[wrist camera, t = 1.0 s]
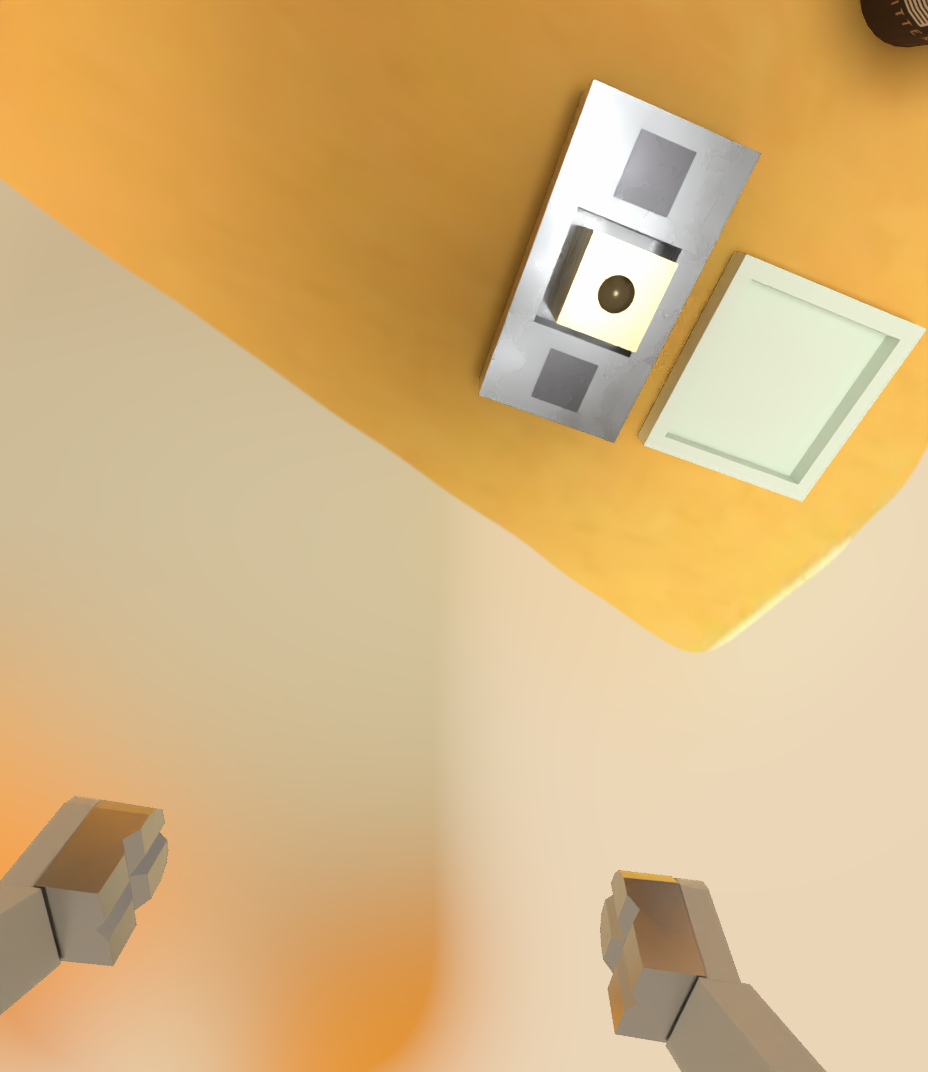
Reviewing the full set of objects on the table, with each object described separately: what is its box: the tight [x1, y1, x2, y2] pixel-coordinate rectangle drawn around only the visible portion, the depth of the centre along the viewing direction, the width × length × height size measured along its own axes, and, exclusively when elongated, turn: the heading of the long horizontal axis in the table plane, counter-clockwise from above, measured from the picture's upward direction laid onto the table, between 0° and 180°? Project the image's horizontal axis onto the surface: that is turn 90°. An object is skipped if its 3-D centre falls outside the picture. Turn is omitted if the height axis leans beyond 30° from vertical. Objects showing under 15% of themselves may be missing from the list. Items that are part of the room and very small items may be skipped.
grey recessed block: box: [478, 79, 761, 443], centre depth 34 cm, size 16×9×4 cm, turn 161°
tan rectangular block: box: [546, 225, 678, 352], centre depth 32 cm, size 4×4×6 cm
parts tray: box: [638, 252, 927, 502], centre depth 37 cm, size 12×12×2 cm
